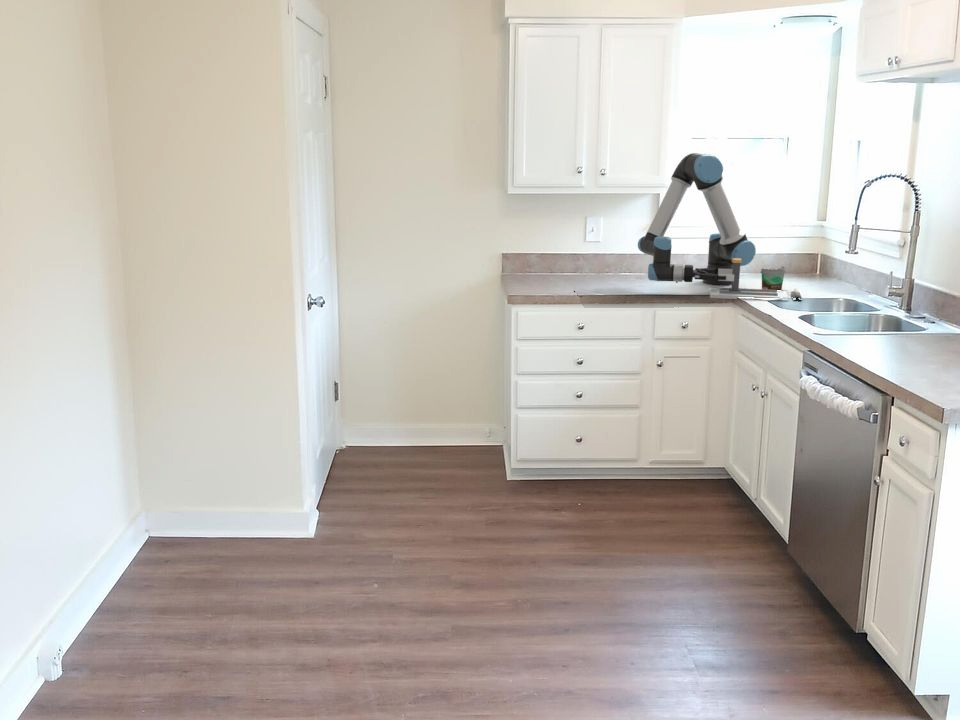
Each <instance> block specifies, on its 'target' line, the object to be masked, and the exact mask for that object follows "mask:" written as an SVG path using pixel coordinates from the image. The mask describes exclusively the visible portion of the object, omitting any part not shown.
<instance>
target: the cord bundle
mask: <svg viewBox="0 0 960 720" xmlns="http://www.w3.org/2000/svg"><path fill="white" fill-rule="evenodd" d="M790 295H791V298H792V297H793V298H797V297H798V298H800V299H801V298H802V296H801V293H800V291H798V289H797V288H794V289H793V290H792V291H790ZM793 298H792V299H793ZM798 298H797V299H798Z"/></svg>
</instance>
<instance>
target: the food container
mask: <svg viewBox="0 0 960 720" xmlns="http://www.w3.org/2000/svg"><path fill="white" fill-rule="evenodd" d="M760 274H761V289H765V290H781V291H782V289H783V283H784V276H785V274H787V270H786V267H785V266H781V268H770V269H769V268H761V270H760Z"/></svg>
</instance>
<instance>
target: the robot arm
mask: <svg viewBox="0 0 960 720" xmlns="http://www.w3.org/2000/svg"><path fill="white" fill-rule="evenodd" d="M723 172H724V164H723V162H722V161H721V159H720V158H719V157H717V156H715V155H712V154H710V153H699V152H698V153H697V152H693V153H689V154H687V155H686V156H684V157H683V158H682V159H681V160H680V161H679V163H678V164H677V166H676V168H675V169H674V171H673V173H672V175H671V177H670V179H671V182H670V184H669V186H668V188H667V191H666V193H665V195H664V197H663V199H662V201H661V203H660V205H659V207H658V209H657V211H656V213H655V215H654V217H653V220H652V221H651V224H650V225H649V228H648V229H647V232H646V234H645V235H643V236H641V238H639V240H638V241H637V248H638V250H639V251H640V252H641V253H644V255H649V256H652V257H653V261H652V263H649V264H648V266H647V267H648V268H647V279H648V280H649V281H654V282H675V283H676V284H677V283H678V282H680V283H681V282H684V283H692V282H693V278H694V280H700V281H701V280H702V282H703V283H706V284H708V285H718V286H720V285H721V286H727V285H731V284H732V281H734V275H732V270H733V262H732V259H733V258H741V263H740V267H744V266H747V265H748V264H750V263H751V262H752V261H753V259H754V258H755V256H756V252H757V251H756V250H757V249H756V245H755V244H754V243H753V242H752V241H750V240H748V237H747V234H746V232H745V231H744V230H742V229H740V227H739V224H738V222H737V220H736V217H735V214H734V211H733V209H732V207H731V205H730V204H731V203H730V202H729V199H728V196H727V194H726V192H725V190H724V187H723V185H722V183H723V180H724V178H723ZM693 183H694V185H695V186H696V189H697V191H701V192H702V194H703V196H704V199H705V201H706V203H707V206H708V208H709V211H710V213H711V216H712V217H713V221H714V223H715V226H716V227H717V231H718V233H711V234H710V235H709V239H708V258H707V266H706V267H704V268H703V267H702V268H698V267H697V268H694V265H693V264H685V265H684V264H679V263H678V264H672V263H671V257H672V238H671V236H665V234H666V231H667V230H668V227H669V226H670V224H671V222H672V220H673V217H674V216H675V213H676V212H677V210H678V208H679V206H680V205H681V202H682V200H683V198H684V196H685V194H686V191H687V190H688V189H689V188H691V187H692V185H693Z"/></svg>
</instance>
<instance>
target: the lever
mask: <svg viewBox="0 0 960 720" xmlns="http://www.w3.org/2000/svg"><path fill="white" fill-rule="evenodd" d="M732 262H733V270H732V275H734V281H732V284H730V287H728V288H729V291H735V292H741V289H742V288H741V287H740V275H741V266H740V263H741V258H733V259H732ZM739 287H740V288H739Z"/></svg>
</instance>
